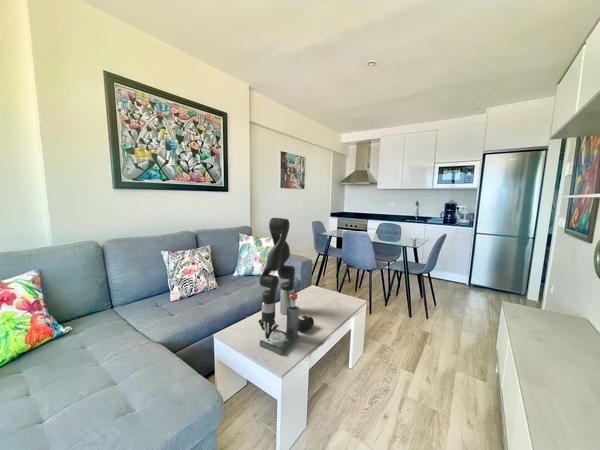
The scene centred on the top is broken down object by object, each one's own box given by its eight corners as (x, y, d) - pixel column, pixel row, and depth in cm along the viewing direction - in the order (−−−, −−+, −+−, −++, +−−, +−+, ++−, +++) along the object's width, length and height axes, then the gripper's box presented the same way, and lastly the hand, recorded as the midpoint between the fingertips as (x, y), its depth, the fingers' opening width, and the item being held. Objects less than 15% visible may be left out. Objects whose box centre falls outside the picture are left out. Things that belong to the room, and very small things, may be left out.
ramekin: (266, 344, 134) (266, 337, 133) (276, 337, 141) (276, 330, 141) (278, 351, 129) (279, 343, 128) (288, 342, 136) (288, 335, 136)
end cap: (303, 334, 145) (303, 324, 144) (294, 329, 150) (295, 319, 149) (313, 328, 152) (314, 318, 151) (305, 323, 157) (305, 313, 156)
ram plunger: (291, 310, 143) (292, 292, 141) (298, 312, 141) (298, 294, 139) (287, 313, 139) (288, 294, 138) (294, 315, 137) (294, 296, 136)
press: (279, 329, 149) (280, 301, 147) (299, 336, 142) (300, 307, 140) (259, 345, 133) (259, 315, 130) (281, 355, 126) (281, 322, 123)
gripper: (282, 309, 136) (281, 338, 138) (263, 303, 143) (263, 331, 145) (274, 315, 130) (273, 345, 132) (255, 308, 136) (254, 337, 139)
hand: (267, 337), depth 138 cm, fingers closed
